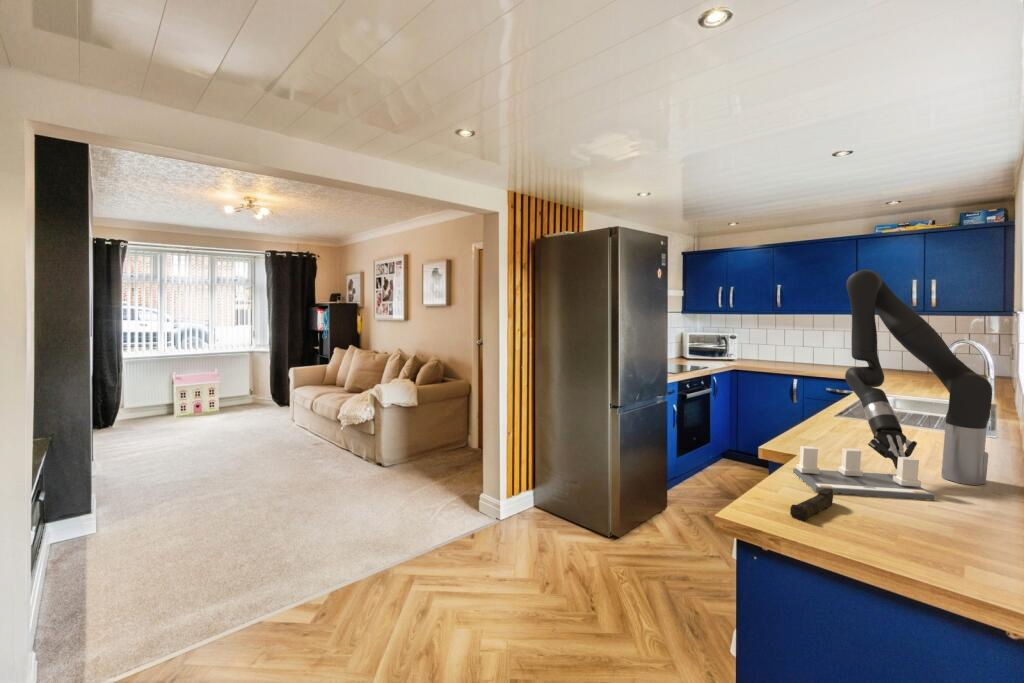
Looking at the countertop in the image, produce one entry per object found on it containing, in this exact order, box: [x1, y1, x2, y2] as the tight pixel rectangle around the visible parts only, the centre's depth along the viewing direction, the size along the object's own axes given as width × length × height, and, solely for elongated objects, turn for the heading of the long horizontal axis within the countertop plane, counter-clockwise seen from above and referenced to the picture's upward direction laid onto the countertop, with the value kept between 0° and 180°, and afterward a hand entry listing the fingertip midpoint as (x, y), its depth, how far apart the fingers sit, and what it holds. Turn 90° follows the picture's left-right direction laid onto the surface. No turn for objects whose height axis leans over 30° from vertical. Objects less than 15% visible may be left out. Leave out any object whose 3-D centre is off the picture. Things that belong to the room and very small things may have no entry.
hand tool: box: [789, 488, 834, 522], centre depth 125 cm, size 19×4×5 cm, turn 122°
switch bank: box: [792, 468, 935, 501], centre depth 143 cm, size 30×16×2 cm, turn 80°
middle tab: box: [837, 447, 864, 476], centre depth 148 cm, size 5×4×8 cm
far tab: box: [796, 445, 821, 474], centre depth 150 cm, size 5×4×8 cm
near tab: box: [893, 456, 922, 487], centre depth 140 cm, size 5×4×8 cm
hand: (903, 470), depth 142 cm, fingers closed
